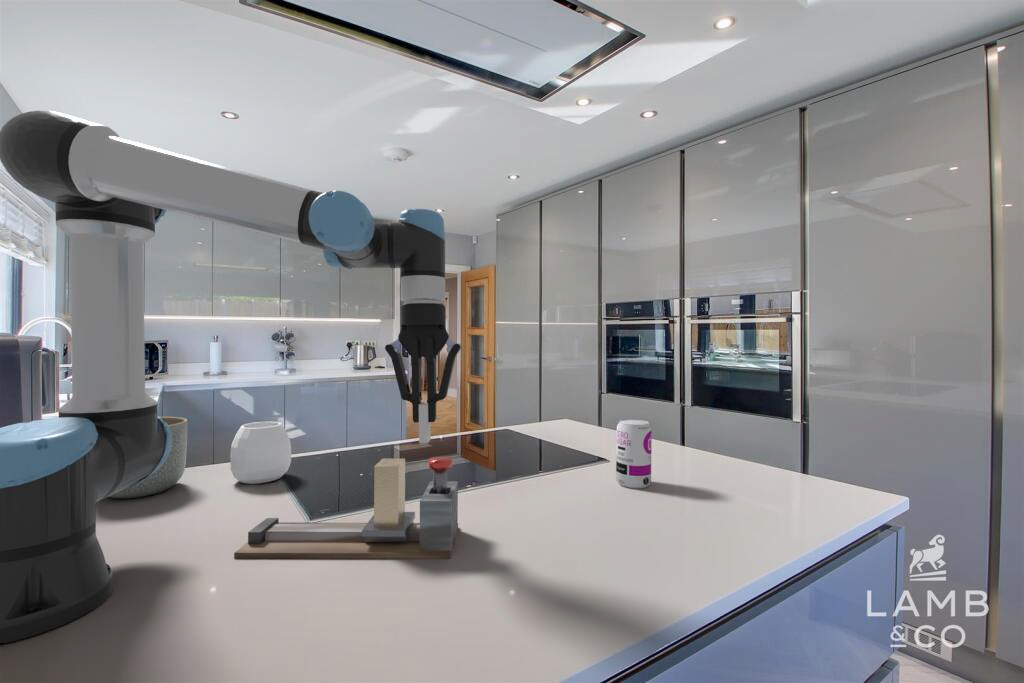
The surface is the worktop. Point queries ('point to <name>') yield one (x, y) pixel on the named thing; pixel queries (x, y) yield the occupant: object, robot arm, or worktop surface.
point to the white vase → (260, 452)
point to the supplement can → (633, 453)
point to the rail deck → (338, 549)
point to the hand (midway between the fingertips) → (424, 441)
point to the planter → (170, 468)
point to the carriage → (389, 504)
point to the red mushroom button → (440, 473)
